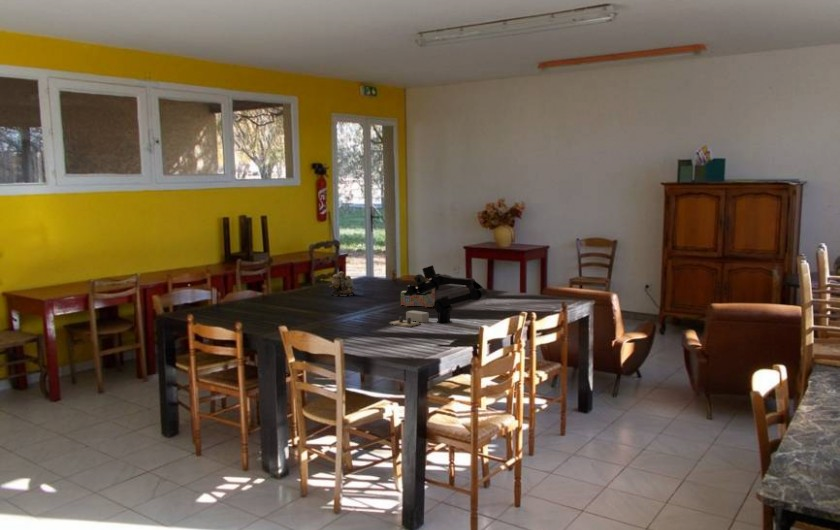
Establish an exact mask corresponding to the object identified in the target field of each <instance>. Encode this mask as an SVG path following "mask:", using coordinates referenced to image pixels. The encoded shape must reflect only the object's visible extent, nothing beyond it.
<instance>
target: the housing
mask: <svg viewBox="0 0 840 530" xmlns="http://www.w3.org/2000/svg"><path fill="white" fill-rule="evenodd" d="M429 316H430V313H429V312H425V311H420V310H408V311H406V312H405V320H406V321H407V318H411V321H412V322H413V321H416V322H418V323H419V322H424V323H427V322H426V321H428V322H430V320H429V319H430V318H429Z"/></svg>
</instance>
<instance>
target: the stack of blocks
mask: <svg viewBox="0 0 840 530" xmlns="http://www.w3.org/2000/svg"><path fill="white" fill-rule="evenodd" d="M416 289H418V286H416ZM406 291H407V290H402V291H401V292H400V306H401V305H405V306H404V307H407V306H425V307H424V308H427V307H433V306H434V303H435V301H436V295H435V294H436V292H435V291H436V288H435V289H433V290H432V293H431V294H430V295H414V296H404V293H405V292H406ZM434 307H435V306H434ZM434 307H433V308H434Z"/></svg>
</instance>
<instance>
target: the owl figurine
mask: <svg viewBox="0 0 840 530" xmlns="http://www.w3.org/2000/svg"><path fill="white" fill-rule="evenodd" d="M345 275H346V274H345V272H344V271H338V273H335V274H333V275H332V281H331V285H329V288H330V289H331V290H333V292H331V293H330V295H331V294H332V295H339V296H340V295H350V294H354V293H355V292H354V290H355V289H356V288H355V287H354V279H352V277H351V275H346V276H345Z"/></svg>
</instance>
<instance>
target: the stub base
mask: <svg viewBox="0 0 840 530" xmlns="http://www.w3.org/2000/svg"><path fill="white" fill-rule="evenodd" d="M398 318H399V319H398V320H393V321H390V322H388V323H389V325H392V324H393V325H392V326H397V325H398V327H403V326H404V328H409V327H410V328H413V327H412V326H414V327H417V326H416V325H418V326H420V324H421V325H422V323H419V322H413V321H411V318H407V320H406V319H404V318H403V315H401V316H399V317H398Z"/></svg>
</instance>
